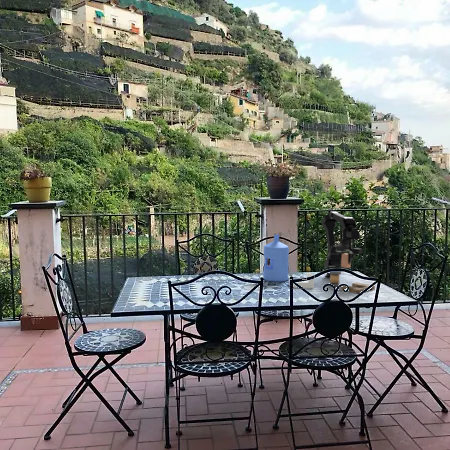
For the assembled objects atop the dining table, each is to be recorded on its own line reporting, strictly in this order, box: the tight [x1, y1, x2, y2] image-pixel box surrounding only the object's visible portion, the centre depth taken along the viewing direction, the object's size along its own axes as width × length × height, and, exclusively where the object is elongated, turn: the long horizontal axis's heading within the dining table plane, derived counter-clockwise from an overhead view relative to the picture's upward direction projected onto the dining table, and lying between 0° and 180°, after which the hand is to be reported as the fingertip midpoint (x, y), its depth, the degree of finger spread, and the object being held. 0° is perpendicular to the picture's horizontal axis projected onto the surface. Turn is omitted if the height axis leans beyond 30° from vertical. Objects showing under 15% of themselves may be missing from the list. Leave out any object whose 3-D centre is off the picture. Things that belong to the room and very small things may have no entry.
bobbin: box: [329, 271, 342, 287], centre depth 254 cm, size 7×7×8 cm
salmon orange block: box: [340, 252, 352, 269], centre depth 259 cm, size 4×4×8 cm
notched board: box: [340, 282, 376, 295], centre depth 244 cm, size 12×17×2 cm
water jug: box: [262, 234, 290, 283], centre depth 268 cm, size 16×16×28 cm
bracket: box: [288, 272, 315, 289], centre depth 250 cm, size 13×7×8 cm, turn 92°
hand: (346, 263), depth 260 cm, fingers closed on salmon orange block, 4 cm apart
